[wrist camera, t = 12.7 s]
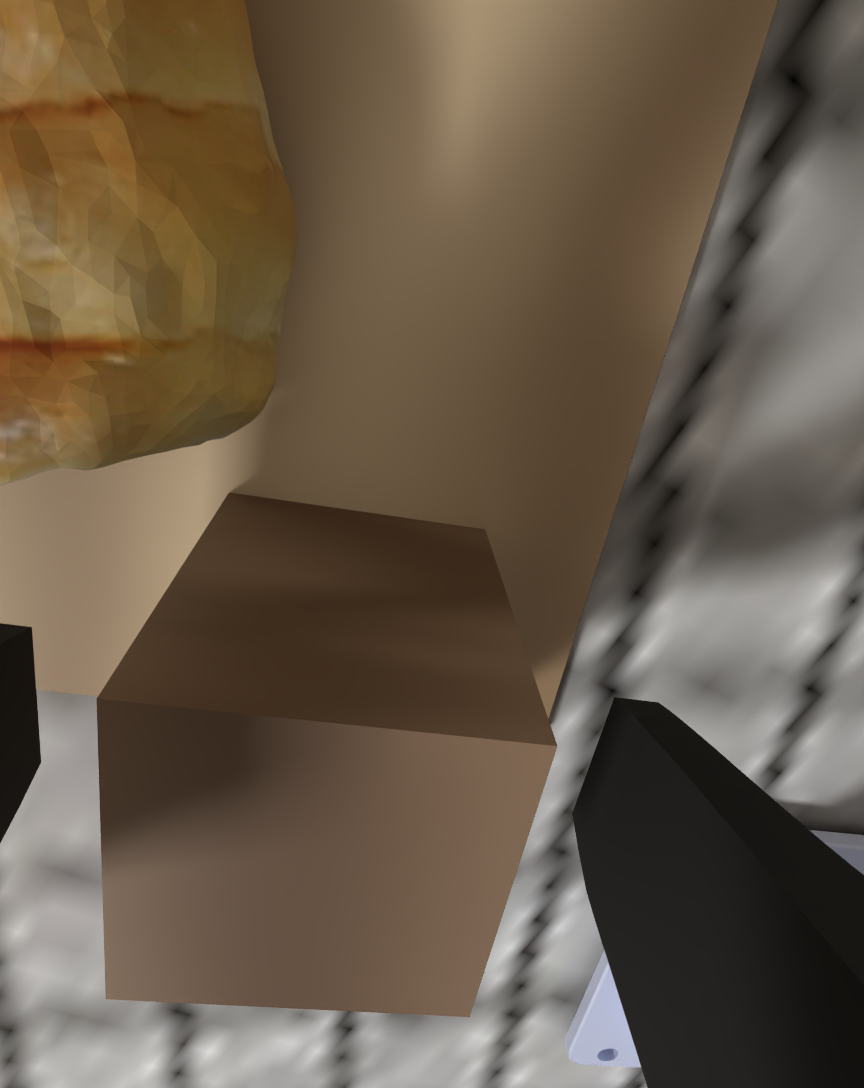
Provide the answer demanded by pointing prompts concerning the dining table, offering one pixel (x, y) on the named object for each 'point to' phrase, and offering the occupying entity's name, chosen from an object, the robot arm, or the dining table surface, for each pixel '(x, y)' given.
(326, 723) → the walnut block
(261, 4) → the board
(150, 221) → the pastry
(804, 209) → the dining table surface
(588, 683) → the dining table surface
